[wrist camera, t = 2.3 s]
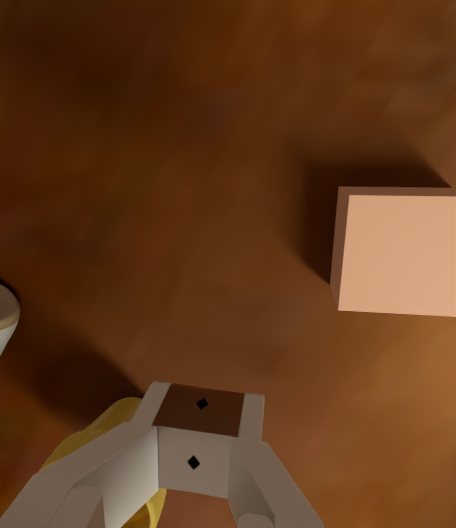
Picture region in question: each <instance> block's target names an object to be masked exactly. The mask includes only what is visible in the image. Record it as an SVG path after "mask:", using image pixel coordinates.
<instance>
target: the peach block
mask: <svg viewBox="0 0 456 528" xmlns="http://www.w3.org/2000/svg"><path fill="white" fill-rule="evenodd" d="M330 287H331V290H332V293H333V296H334V299H335V302H336V305H337V308H338V310H343V311H361V312H380V313H398V314H417V315H435V316H454V317H456V189H455V188H432V187H338V198H337V210H336V221H335V232H334V244H333V255H332V267H331V278H330Z"/></svg>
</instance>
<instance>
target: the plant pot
mask: <svg viewBox="0 0 456 528" xmlns="http://www.w3.org/2000/svg"><path fill="white" fill-rule="evenodd" d="M141 401H142V399H141V398H137V397H127V398H123V399H120V400H118V401H116V402H115V403H114V404H112V405H111V406H110V407H109V408H108V409H107V410H106V411H105V412H104V413H102V414H101V415H100V416H99V417H98V418H97V419H96V420H95V421H93V422H92V423H91V424H90V425H89V426H88V427H87V428H85V429H84V430H83V431H80V432H77V433H74V434H72V435H70V436H69V437H67V438H66V439H65V440H64V441H62V442H61V444H60V445H59V446H58V447H57V448H56V449H55V451H54V452H53V453H52V454H51V455H50V457H49V458H48V459H47V460H46V462H45V463H44V465H43V466H42V467H41V469H40V470H39V471H38V472H40V471H41V470H43V469H45V468H46V467H48V466H50V465H52V464H53V463H55V462H57V461H58V460H60V459H62V458H63V457H65V456H67V455H69V454H70V453H72V452H74V451H75V450H77V449H79V448H80V447H82V446H84V445H86V444H87V443H89V442H91V441H92V440H94V439H96V438H97V437H99V436H101V435H103V434H104V433H106V432H108V431H109V430H111V429H113V428H115V427H116V426H118V425H120V424H121V423H123V422H128V423H129V422H130V421H131V419H132V417H133V415H134V413H135V412H136V410H137V408H138V406H139V404H140V403H141ZM165 496H166V489H165V488H159V490H158V491H157V492H156V493H155V494H154V495H153V496H152V497H151V498H150V499H149V500H148V501H147V502H146V503H145V504H144V505H143V506H142V507H141V508H140V509H139V510H138V511H137V512H136V513H135V514H134V515H133V516H132V517H131V518H130V519H129V520H128V521H127V522H126V523H125V524H124V525H123V526H121V527H120V528H156V526H157V523H158V520H159V517H160V514H161V511H162V507H163V504H164V500H165Z"/></svg>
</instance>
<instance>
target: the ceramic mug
mask: <svg viewBox="0 0 456 528" xmlns="http://www.w3.org/2000/svg"><path fill="white" fill-rule="evenodd" d="M19 316H20V306H19V302H18V301H17V299H16V297H15V296H14V295H13V294H12V293H11V292H10V291H9V290H8V289H7V288H6V287H5V286H3V285H1V284H0V355H1V354H2V352H3V350H4V348H5V346H6V344H7V342H8V340H9V339H10V337H11V336H12V334H13V332H14V330H15V328H16V326H17V323H18V319H19Z"/></svg>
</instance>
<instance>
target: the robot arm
mask: <svg viewBox="0 0 456 528" xmlns="http://www.w3.org/2000/svg"><path fill="white" fill-rule="evenodd" d="M264 398H265V397H264V394H254V393H238V392H230V391H222V390H214V389H208V388H201V387H194V386H188V385H181V384H174V383H173V384H171V383H166V382H159V381H154V382H153V383H151V384H150V386H149V388H148V390H147V392H146V394H145V395H144V397H143V399H142V401H141V403H140V404H139V406H138V408H137V410H136V412H135V413H134V415H133V417H132V419H131V421H130V422H129V423H128V422H123V423H121V424H120V425H118V426H116V427H115V428H113V429H111V430H109V431H108V432H106V433H104V434H103V435H101V436H99V437H97V438H96V439H94V440H92V441H91V442H89V443H87V444H86V445H84V446H82V447H80V448H79V449H77V450H75V451H74V452H72V453H70V454H69V455H67V456H65V457H63V458H62V459H60V460H58V461H57V462H55V463H53V464H52V465H50V466H48V467H46V468H45V469H43V470H41V471H40V472H38V473H36V474H34V475H33V476H32V478H31V479H30V480H29V481H28V483H27V484H26V485H25V487H24V488H23V489H22V491H21V492H20V493H19V495H18V496H17V497H16V499H15V500H14V501H13V503H12V504H11V505H10V507H9V508H8V509H7V511H6V512H5V513H4V515H3V516H2V517H1V518H0V528H120V527H121V526H123V525H124V524H125V523H126V522H127V521H128V520H129V519H130V518H131V517H132V516H133V515H134V514H135V513H136V512H137V511H138V510H139V509H140V508H141V507H142V506H143V505H144V504H145V503H146V502H147V501H148V500H149V499H150V498H151V497H152V496H153V495H154V494H155V493H156V492H157V491H158V490H159V488H165V489H173V490H181V491H188V492H195V493H200V494H205V495H211V496H216V497H221V498H226V499H228V503H229V505H230V508H231V510H232V513H233V516H234V518H235V521H236V523H237V528H324V523H323V522H322V520H321V519H320V517H319V516H318V515H317V513H316V512H315V510H314V509H313V507H312V506H311V505H310V503H309V502H308V500H307V499H306V497H305V496H304V494H303V493H302V492H301V490H300V489H299V487H298V486H297V484H296V483H295V481H294V480H293V479H292V477H291V476H290V474H289V473H288V471H287V470H286V468H285V467H284V466H283V464H282V463H281V461H280V460H279V458H278V457H277V455H276V454H275V453H274V451H273V450H272V448H271V447H270V445H269V444H268V443H267V442H263V441H261V440H262V426H263V412H264Z"/></svg>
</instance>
